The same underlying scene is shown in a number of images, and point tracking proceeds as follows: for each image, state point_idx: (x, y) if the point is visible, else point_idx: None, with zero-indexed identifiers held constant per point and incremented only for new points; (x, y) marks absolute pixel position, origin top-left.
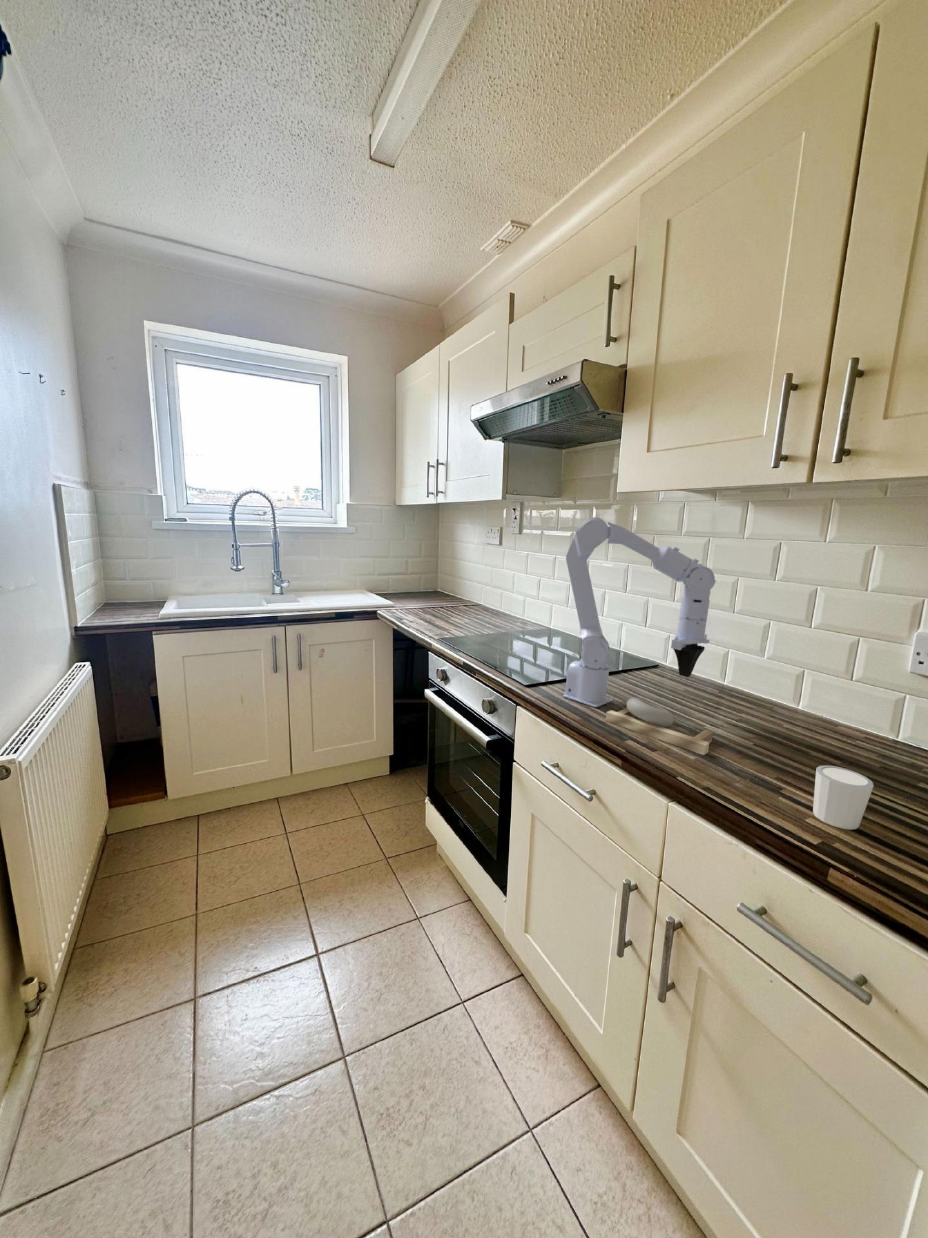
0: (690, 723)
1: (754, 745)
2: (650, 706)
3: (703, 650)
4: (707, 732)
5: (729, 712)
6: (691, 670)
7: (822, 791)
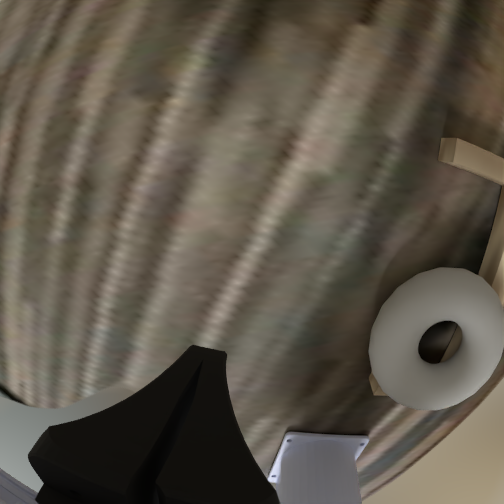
0: (323, 221)
1: (372, 21)
2: (496, 347)
3: (60, 434)
4: (469, 154)
5: (95, 140)
6: (203, 368)
7: None
